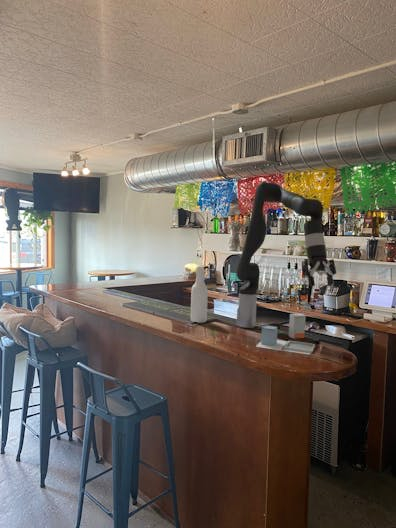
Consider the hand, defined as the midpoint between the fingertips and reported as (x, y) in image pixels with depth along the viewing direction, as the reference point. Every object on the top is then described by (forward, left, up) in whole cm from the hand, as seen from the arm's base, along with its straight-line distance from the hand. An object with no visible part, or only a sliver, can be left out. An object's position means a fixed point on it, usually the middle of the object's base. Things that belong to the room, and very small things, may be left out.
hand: (321, 285), depth 157 cm
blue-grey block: (-21, +4, -27) cm, 34 cm away
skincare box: (-12, +22, -29) cm, 38 cm away
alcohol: (-66, +34, -29) cm, 79 cm away
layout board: (-14, +4, -29) cm, 32 cm away
